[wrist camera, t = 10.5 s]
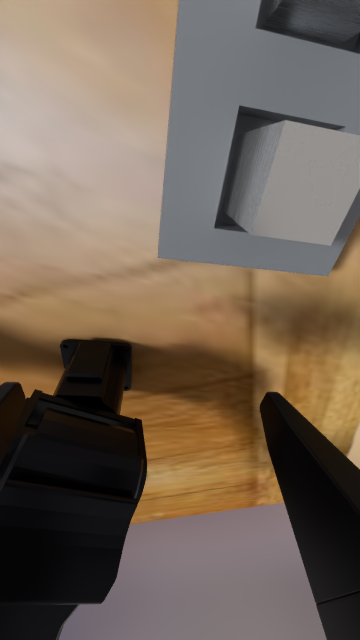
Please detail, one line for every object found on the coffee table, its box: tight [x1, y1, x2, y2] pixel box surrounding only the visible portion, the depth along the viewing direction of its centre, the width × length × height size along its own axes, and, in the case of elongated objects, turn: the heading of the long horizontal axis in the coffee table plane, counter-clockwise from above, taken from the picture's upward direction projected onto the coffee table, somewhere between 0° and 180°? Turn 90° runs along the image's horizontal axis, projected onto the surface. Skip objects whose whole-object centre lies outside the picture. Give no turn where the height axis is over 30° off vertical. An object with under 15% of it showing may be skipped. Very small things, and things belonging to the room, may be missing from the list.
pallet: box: [158, 0, 360, 276], centre depth 12 cm, size 18×12×3 cm, turn 172°
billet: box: [223, 120, 360, 246], centre depth 12 cm, size 4×4×6 cm
